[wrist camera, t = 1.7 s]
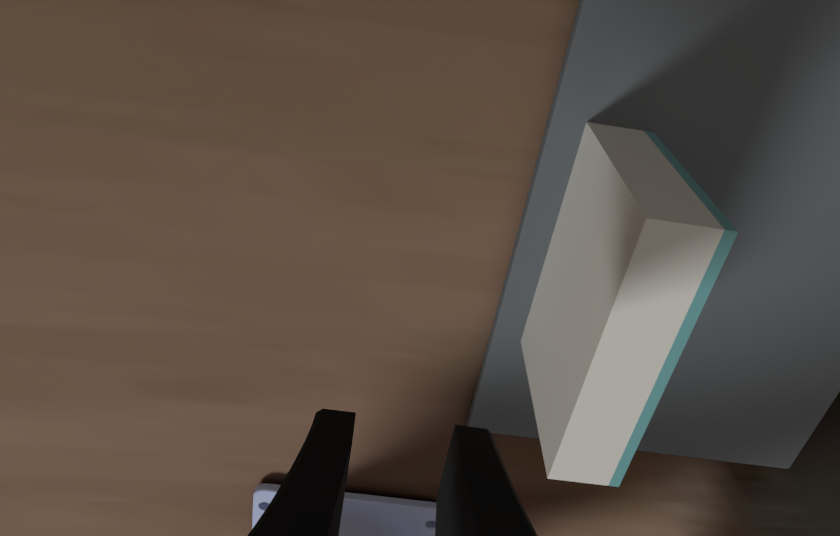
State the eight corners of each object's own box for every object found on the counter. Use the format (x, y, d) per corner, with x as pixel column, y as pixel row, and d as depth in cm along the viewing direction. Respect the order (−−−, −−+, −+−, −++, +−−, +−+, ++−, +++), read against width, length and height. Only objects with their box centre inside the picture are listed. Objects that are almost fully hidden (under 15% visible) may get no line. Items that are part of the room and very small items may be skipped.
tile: (576, 348, 23) (618, 486, 18) (520, 341, 23) (547, 478, 18) (653, 132, 19) (738, 231, 14) (586, 121, 19) (646, 218, 14)
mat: (784, 461, 26) (788, 468, 26) (467, 422, 25) (467, 430, 25) (1065, 25, 18) (1077, 28, 17) (595, -60, 17) (599, -58, 16)
